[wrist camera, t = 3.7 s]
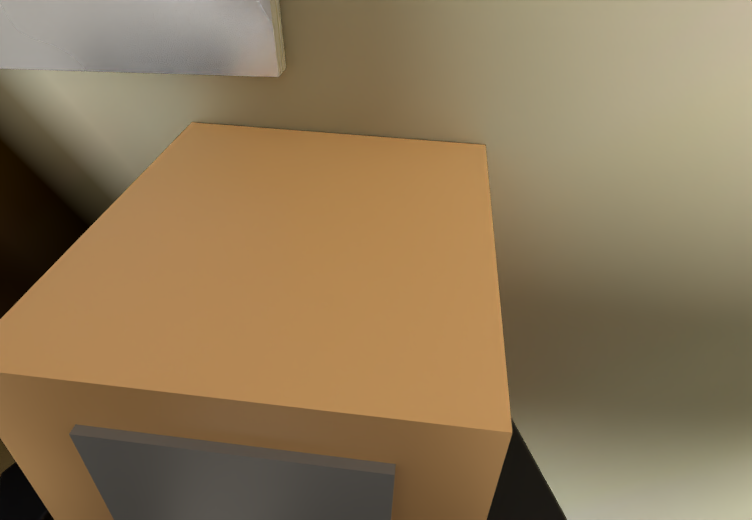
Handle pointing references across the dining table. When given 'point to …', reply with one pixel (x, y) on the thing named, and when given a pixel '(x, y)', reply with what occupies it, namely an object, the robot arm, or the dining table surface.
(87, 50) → the mounting plate
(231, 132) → the block
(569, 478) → the dining table surface
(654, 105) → the dining table surface
